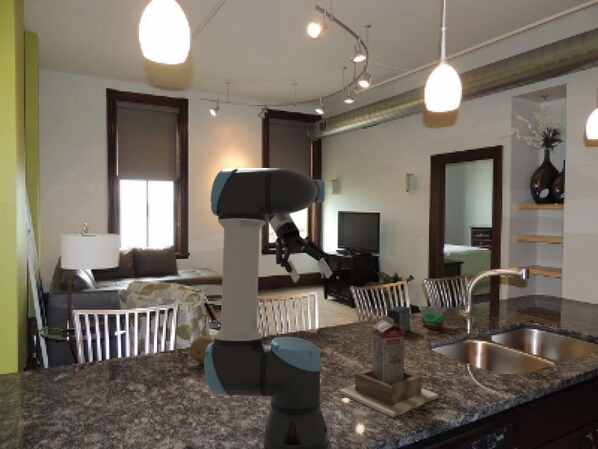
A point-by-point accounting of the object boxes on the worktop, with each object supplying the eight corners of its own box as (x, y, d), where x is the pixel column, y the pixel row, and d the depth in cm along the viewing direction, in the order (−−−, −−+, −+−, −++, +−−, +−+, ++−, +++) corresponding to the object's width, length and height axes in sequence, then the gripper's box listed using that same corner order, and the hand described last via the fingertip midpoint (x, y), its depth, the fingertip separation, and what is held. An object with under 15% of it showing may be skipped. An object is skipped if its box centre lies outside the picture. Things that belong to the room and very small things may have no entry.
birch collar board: (393, 417, 116) (393, 394, 116) (339, 393, 132) (339, 373, 131) (437, 397, 129) (437, 376, 129) (383, 377, 144) (383, 358, 144)
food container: (418, 328, 204) (418, 306, 204) (418, 325, 210) (419, 304, 210) (446, 330, 201) (446, 308, 200) (446, 327, 207) (446, 305, 206)
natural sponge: (196, 370, 150) (196, 341, 150) (184, 363, 157) (184, 335, 157) (220, 364, 156) (220, 336, 155) (208, 358, 163) (207, 331, 162)
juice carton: (382, 397, 126) (383, 320, 125) (372, 388, 132) (372, 315, 132) (403, 395, 128) (404, 319, 127) (392, 386, 134) (393, 313, 134)
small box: (397, 328, 206) (397, 305, 205) (410, 330, 201) (410, 307, 201) (386, 332, 197) (386, 309, 197) (399, 335, 193) (399, 311, 193)
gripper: (308, 234, 162) (336, 281, 151) (250, 237, 147) (277, 289, 135) (317, 220, 158) (347, 267, 147) (259, 221, 142) (287, 273, 131)
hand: (314, 277), depth 141 cm, fingers open, 13 cm apart
